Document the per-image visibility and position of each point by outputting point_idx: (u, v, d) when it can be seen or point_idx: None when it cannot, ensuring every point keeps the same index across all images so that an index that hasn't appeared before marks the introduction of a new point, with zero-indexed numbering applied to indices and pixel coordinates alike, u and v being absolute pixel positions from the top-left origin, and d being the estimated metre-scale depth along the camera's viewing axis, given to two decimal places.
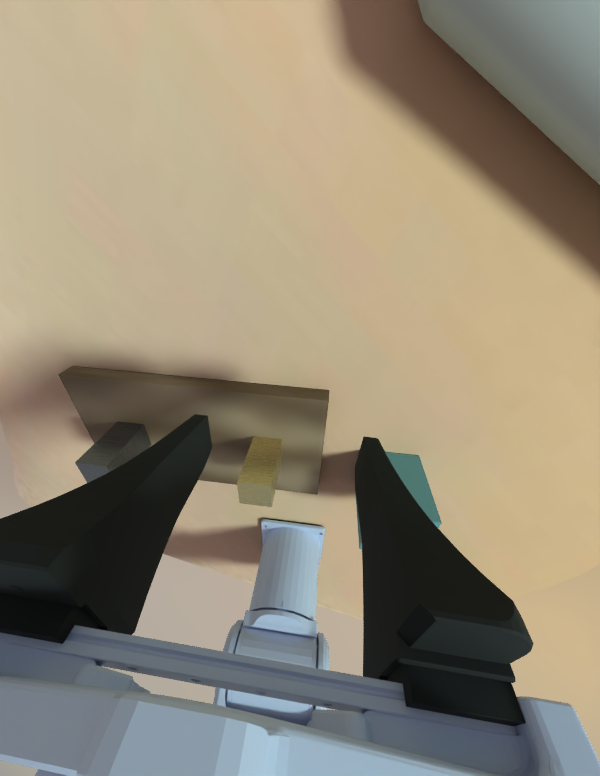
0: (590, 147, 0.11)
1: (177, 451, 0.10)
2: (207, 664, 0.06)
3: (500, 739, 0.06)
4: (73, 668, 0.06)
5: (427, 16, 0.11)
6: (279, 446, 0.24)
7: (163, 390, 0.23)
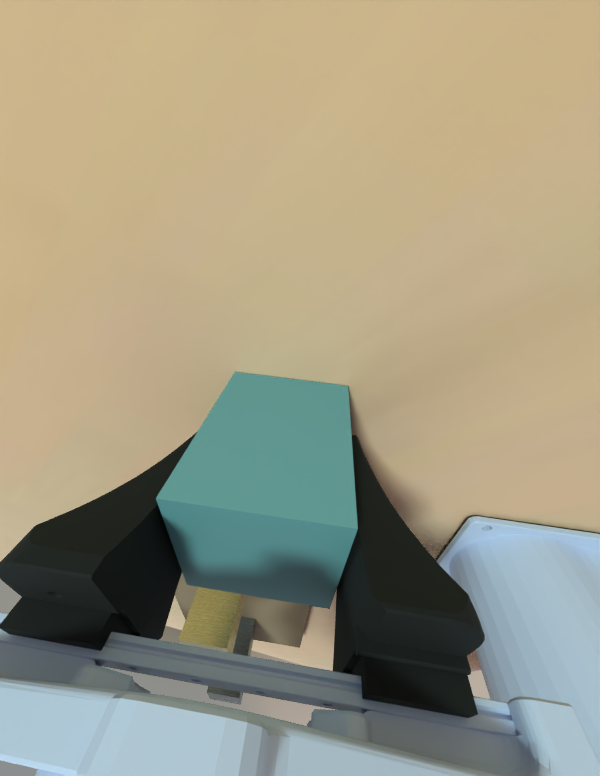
0: None
1: None
2: (206, 665, 0.06)
3: (500, 739, 0.06)
4: (73, 668, 0.06)
5: None
6: None
7: (180, 594, 0.24)
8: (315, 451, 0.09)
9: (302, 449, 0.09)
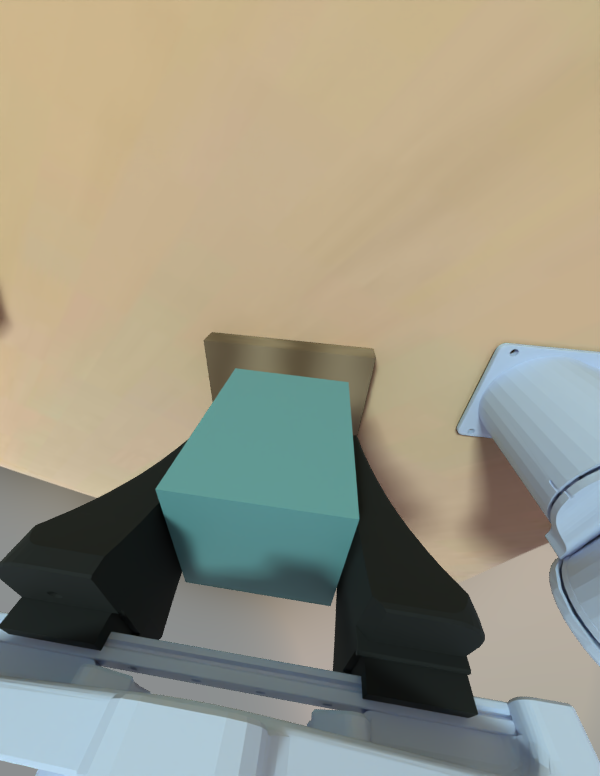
0: None
1: None
2: (206, 665, 0.06)
3: (500, 739, 0.06)
4: (73, 668, 0.06)
5: None
6: None
7: None
8: (315, 444, 0.09)
9: (303, 442, 0.09)
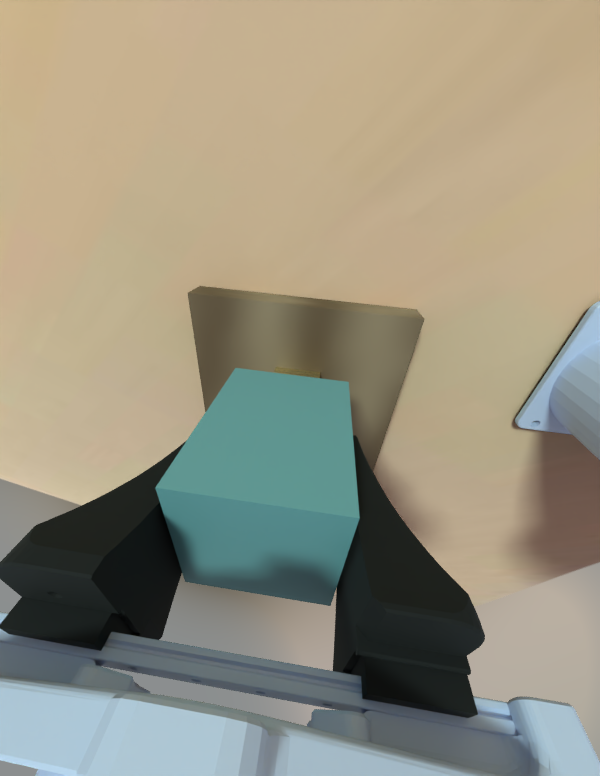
0: None
1: None
2: (207, 665, 0.06)
3: (500, 739, 0.06)
4: (73, 668, 0.06)
5: None
6: None
7: None
8: (315, 444, 0.09)
9: (303, 441, 0.09)
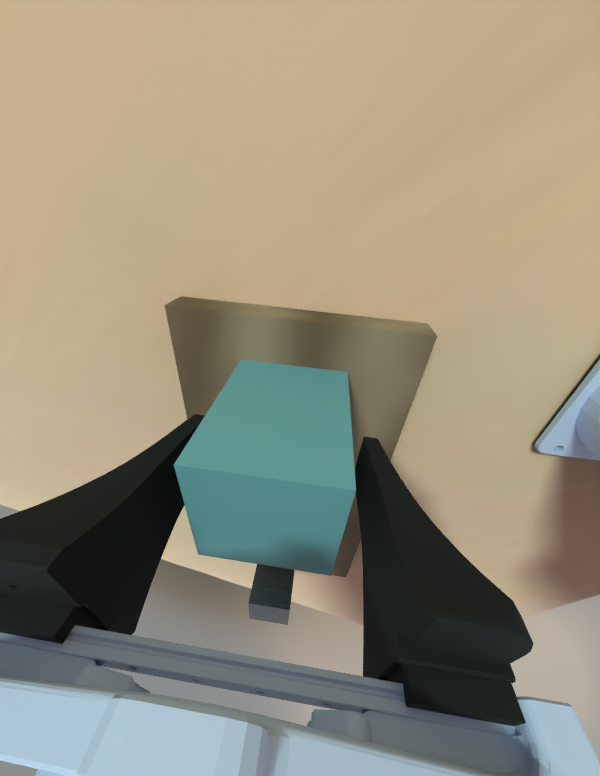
0: None
1: (177, 451, 0.10)
2: (206, 664, 0.06)
3: (500, 739, 0.06)
4: (73, 668, 0.06)
5: None
6: None
7: None
8: (316, 427, 0.10)
9: (305, 425, 0.10)
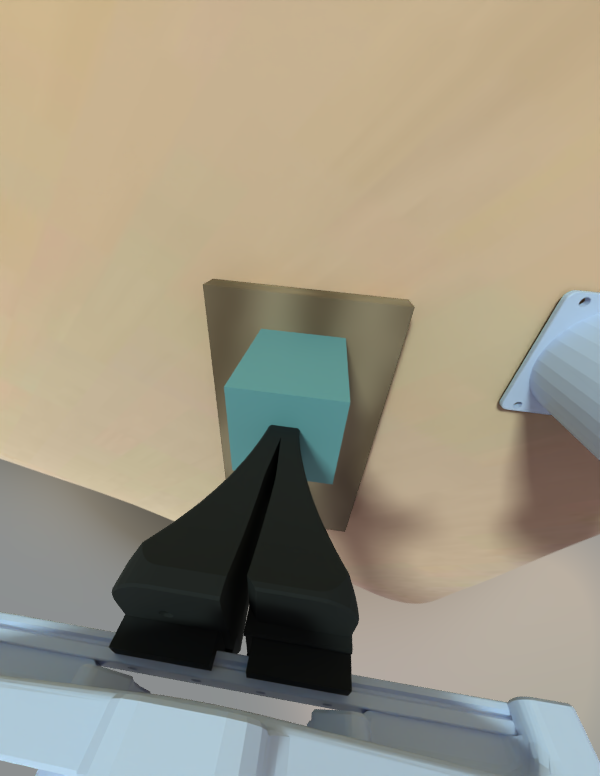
0: None
1: (270, 464, 0.10)
2: (207, 665, 0.06)
3: (500, 739, 0.06)
4: (73, 668, 0.06)
5: None
6: None
7: (229, 453, 0.23)
8: (322, 369, 0.13)
9: (313, 368, 0.13)
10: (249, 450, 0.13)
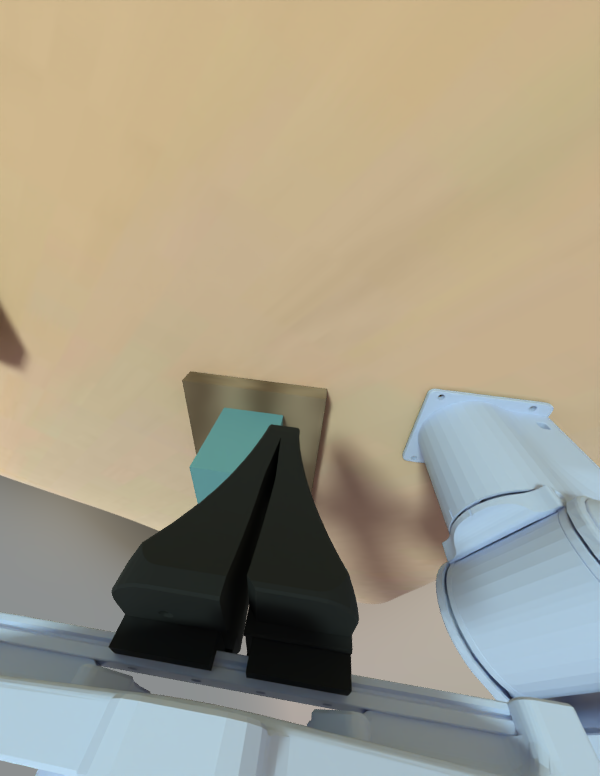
0: None
1: (270, 464, 0.10)
2: (206, 665, 0.06)
3: (500, 739, 0.06)
4: (73, 668, 0.06)
5: None
6: None
7: None
8: None
9: (251, 448, 0.20)
10: None
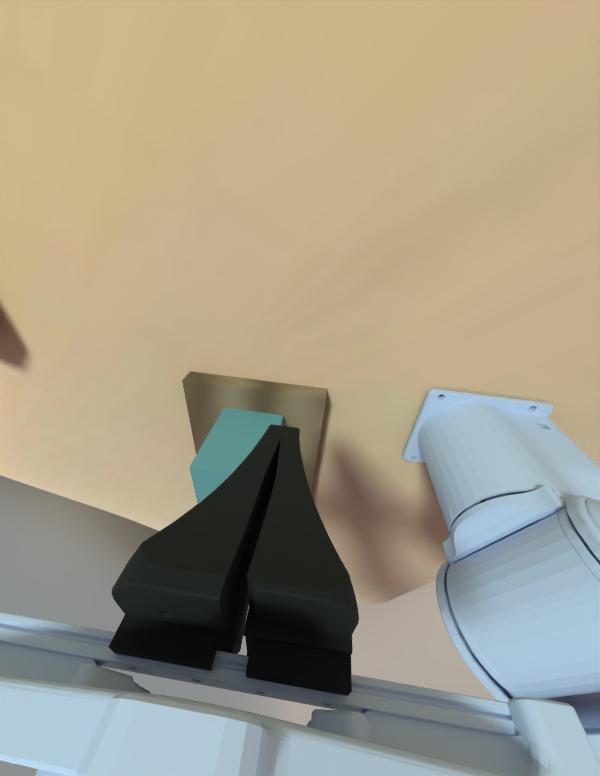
0: None
1: (270, 464, 0.10)
2: (206, 665, 0.06)
3: (500, 739, 0.06)
4: (73, 668, 0.06)
5: None
6: None
7: None
8: None
9: (251, 448, 0.20)
10: None
